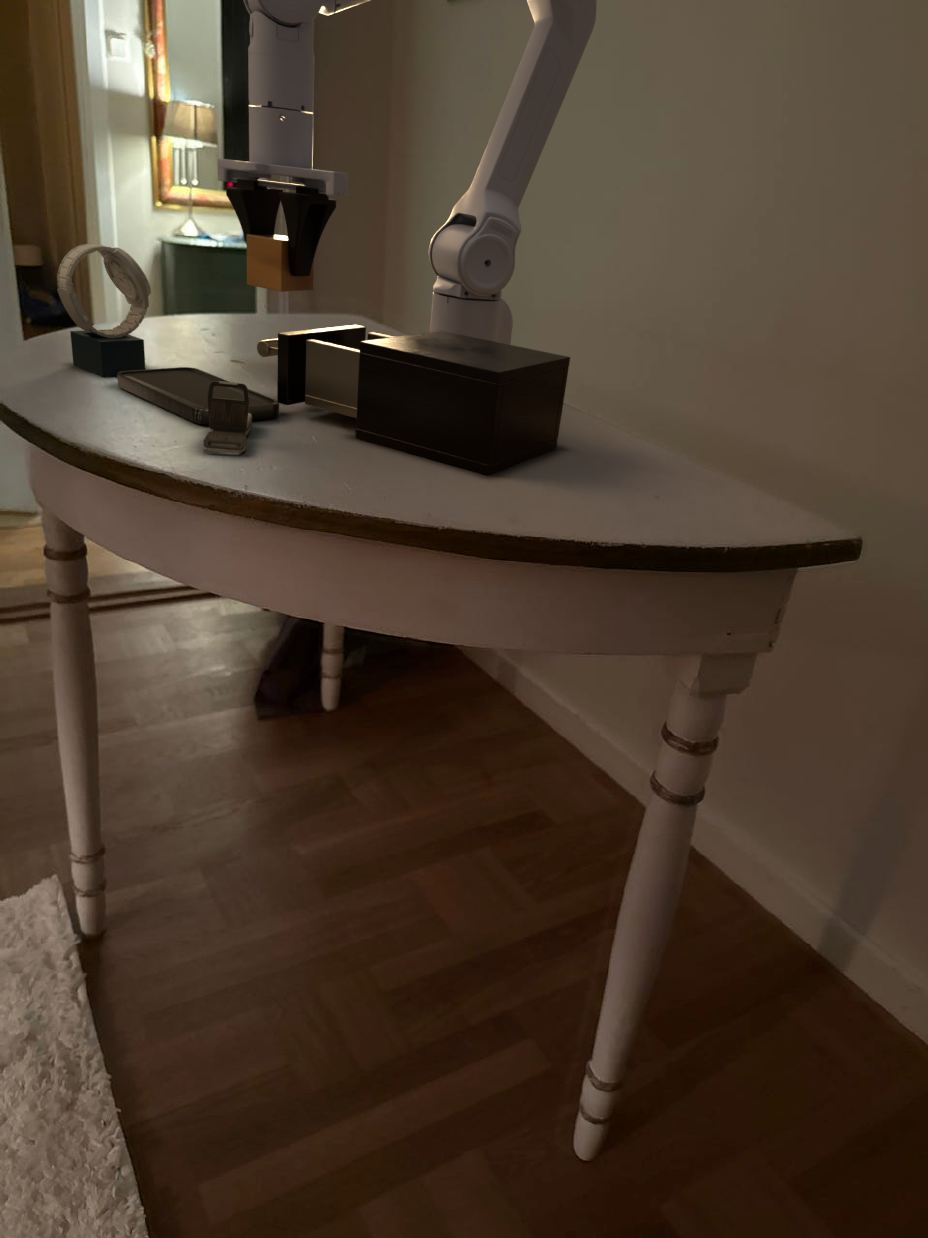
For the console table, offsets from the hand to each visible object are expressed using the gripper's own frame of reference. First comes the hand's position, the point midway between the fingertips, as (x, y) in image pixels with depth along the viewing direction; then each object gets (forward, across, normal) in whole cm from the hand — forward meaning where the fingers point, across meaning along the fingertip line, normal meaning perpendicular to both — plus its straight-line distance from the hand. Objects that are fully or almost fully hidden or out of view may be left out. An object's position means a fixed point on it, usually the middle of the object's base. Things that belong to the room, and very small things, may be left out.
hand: (280, 271), depth 85 cm
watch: (+10, -10, -12) cm, 19 cm away
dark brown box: (+10, +26, -6) cm, 28 cm away
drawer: (+9, +14, -6) cm, 18 cm away
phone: (+10, +4, -14) cm, 18 cm away
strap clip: (+10, +14, -20) cm, 26 cm away
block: (+1, 0, 0) cm, 1 cm away
